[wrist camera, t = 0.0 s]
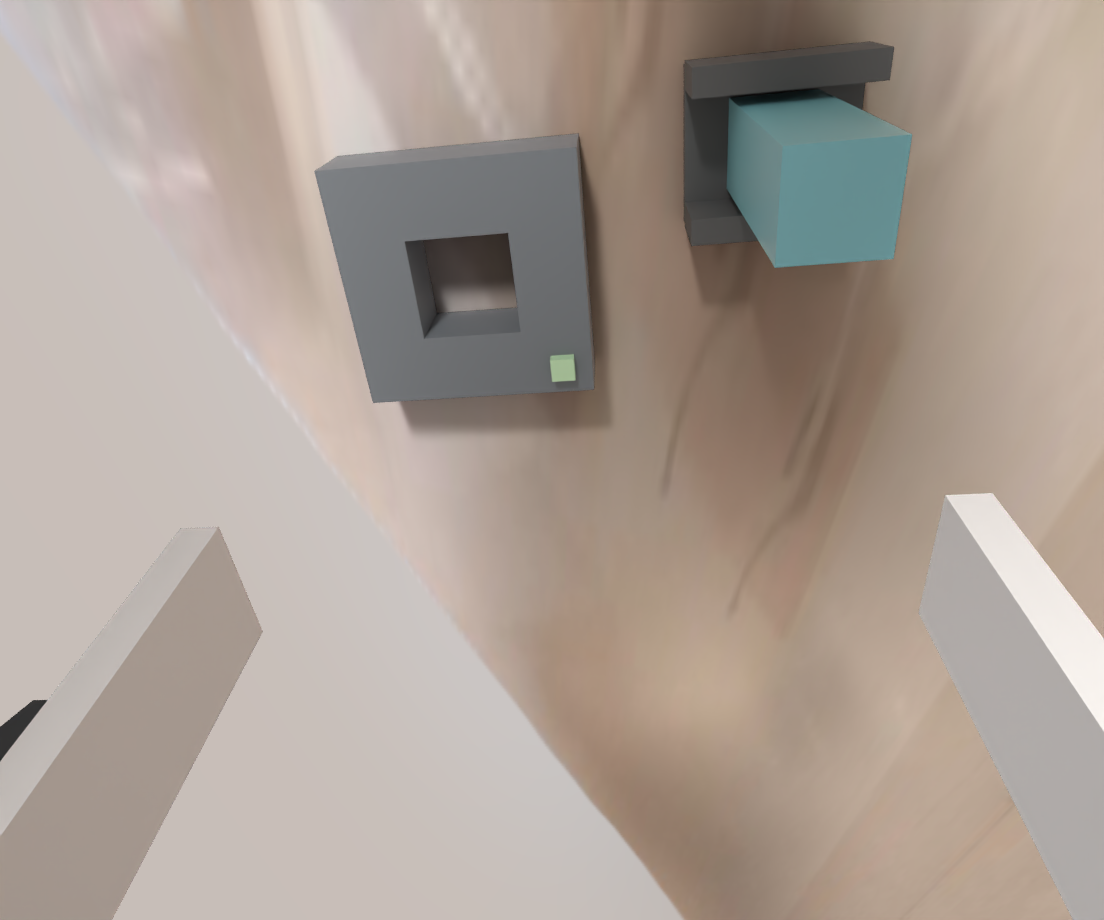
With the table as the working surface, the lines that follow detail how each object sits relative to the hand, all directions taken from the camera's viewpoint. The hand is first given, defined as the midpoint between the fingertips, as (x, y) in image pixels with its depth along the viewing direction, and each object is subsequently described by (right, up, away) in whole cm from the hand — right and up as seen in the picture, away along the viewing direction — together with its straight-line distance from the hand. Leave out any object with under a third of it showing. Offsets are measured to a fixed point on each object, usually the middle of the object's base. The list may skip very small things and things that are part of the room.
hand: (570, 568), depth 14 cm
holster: (+10, +17, +22) cm, 29 cm away
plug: (+10, +17, +21) cm, 29 cm away
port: (-4, +12, +26) cm, 29 cm away
